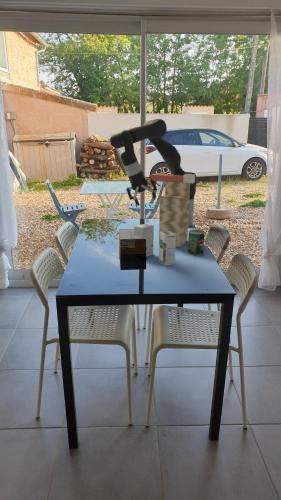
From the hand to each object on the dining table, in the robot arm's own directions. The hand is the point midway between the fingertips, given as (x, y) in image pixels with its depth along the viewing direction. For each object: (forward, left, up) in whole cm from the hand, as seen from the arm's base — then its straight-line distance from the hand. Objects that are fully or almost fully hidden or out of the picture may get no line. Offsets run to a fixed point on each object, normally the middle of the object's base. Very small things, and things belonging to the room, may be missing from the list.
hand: (146, 202), depth 186 cm
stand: (-1, +17, -24) cm, 29 cm away
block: (-6, +19, +8) cm, 21 cm away
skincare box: (+10, -7, -24) cm, 27 cm away
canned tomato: (+18, +18, -24) cm, 35 cm away
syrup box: (+25, -3, -24) cm, 34 cm away
